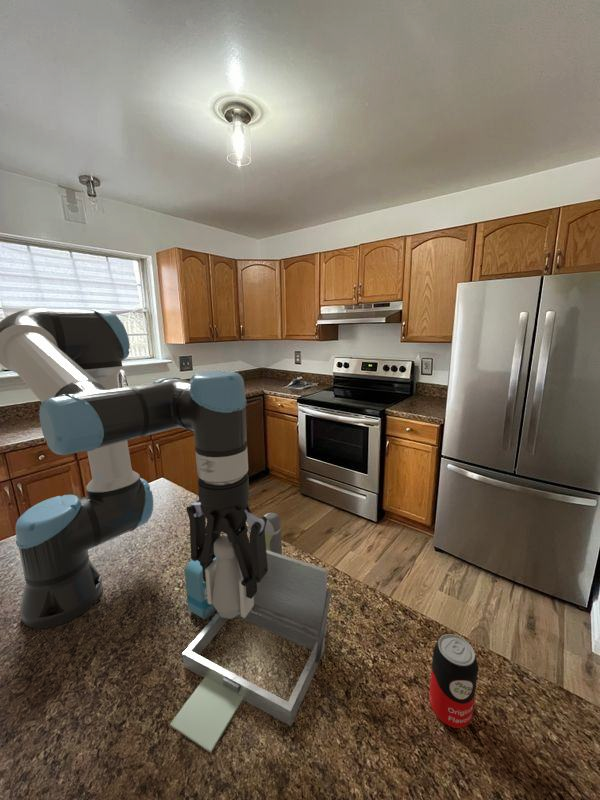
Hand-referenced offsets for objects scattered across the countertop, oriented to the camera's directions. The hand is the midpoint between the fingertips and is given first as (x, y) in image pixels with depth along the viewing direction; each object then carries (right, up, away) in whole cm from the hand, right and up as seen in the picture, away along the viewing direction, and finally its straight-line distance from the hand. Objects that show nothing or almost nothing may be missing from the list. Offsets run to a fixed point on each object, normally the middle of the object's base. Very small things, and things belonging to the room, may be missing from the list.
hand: (230, 604), depth 56 cm
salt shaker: (0, -1, 0) cm, 1 cm away
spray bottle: (+5, -11, +22) cm, 26 cm away
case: (+3, -14, +7) cm, 16 cm away
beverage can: (+36, -16, -2) cm, 39 cm away
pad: (-3, -16, -2) cm, 17 cm away
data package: (-8, -12, +21) cm, 25 cm away
